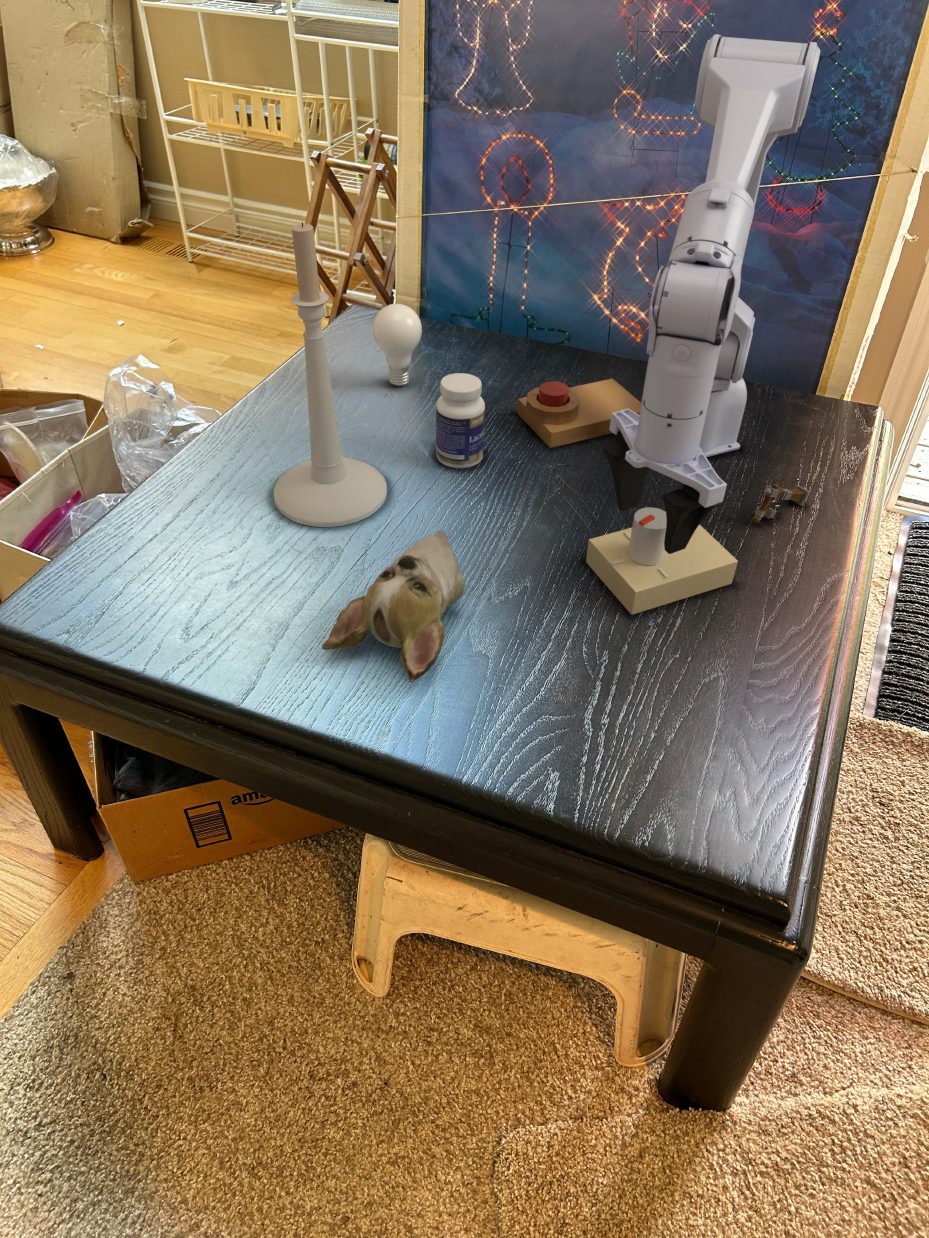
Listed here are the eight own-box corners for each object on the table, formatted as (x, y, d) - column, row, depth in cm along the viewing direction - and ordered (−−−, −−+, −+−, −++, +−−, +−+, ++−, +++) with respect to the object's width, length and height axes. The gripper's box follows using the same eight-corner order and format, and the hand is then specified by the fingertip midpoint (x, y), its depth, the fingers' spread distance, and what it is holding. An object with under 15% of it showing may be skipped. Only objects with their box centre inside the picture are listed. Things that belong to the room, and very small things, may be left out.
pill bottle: (478, 473, 106) (480, 396, 100) (431, 467, 107) (430, 391, 100) (487, 447, 110) (490, 372, 104) (441, 442, 111) (441, 367, 104)
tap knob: (644, 538, 92) (651, 500, 89) (671, 555, 90) (679, 517, 87) (620, 553, 91) (626, 514, 87) (647, 570, 89) (655, 531, 85)
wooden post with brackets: (743, 517, 99) (763, 480, 97) (778, 518, 104) (798, 482, 102) (756, 525, 98) (777, 488, 96) (791, 525, 103) (811, 490, 101)
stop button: (558, 391, 114) (559, 379, 112) (572, 405, 111) (574, 392, 110) (533, 397, 112) (534, 384, 111) (546, 410, 110) (548, 397, 109)
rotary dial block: (681, 534, 98) (686, 510, 96) (731, 583, 92) (738, 559, 90) (585, 562, 94) (588, 537, 92) (631, 615, 88) (635, 590, 86)
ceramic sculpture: (492, 531, 83) (414, 638, 74) (492, 599, 89) (420, 705, 80) (392, 501, 87) (306, 599, 77) (399, 568, 93) (319, 666, 84)
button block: (610, 393, 121) (614, 365, 118) (647, 425, 115) (651, 397, 112) (511, 415, 116) (513, 386, 114) (544, 449, 110) (547, 420, 108)
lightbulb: (421, 396, 119) (420, 317, 112) (374, 396, 119) (369, 316, 112) (424, 374, 124) (422, 296, 117) (378, 373, 124) (373, 295, 117)
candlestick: (326, 450, 109) (298, 189, 89) (409, 486, 104) (400, 217, 84) (250, 500, 102) (200, 226, 81) (335, 541, 96) (305, 259, 76)
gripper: (590, 377, 82) (575, 500, 91) (690, 454, 73) (663, 582, 82) (652, 361, 85) (632, 482, 94) (757, 433, 75) (723, 560, 85)
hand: (650, 527), depth 88 cm, fingers open, 7 cm apart
